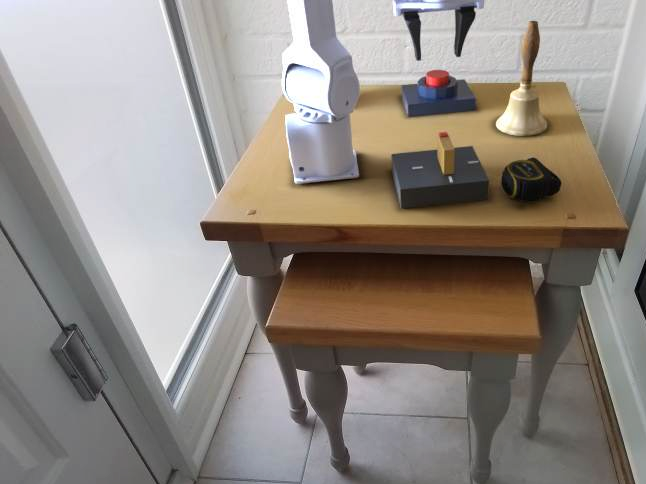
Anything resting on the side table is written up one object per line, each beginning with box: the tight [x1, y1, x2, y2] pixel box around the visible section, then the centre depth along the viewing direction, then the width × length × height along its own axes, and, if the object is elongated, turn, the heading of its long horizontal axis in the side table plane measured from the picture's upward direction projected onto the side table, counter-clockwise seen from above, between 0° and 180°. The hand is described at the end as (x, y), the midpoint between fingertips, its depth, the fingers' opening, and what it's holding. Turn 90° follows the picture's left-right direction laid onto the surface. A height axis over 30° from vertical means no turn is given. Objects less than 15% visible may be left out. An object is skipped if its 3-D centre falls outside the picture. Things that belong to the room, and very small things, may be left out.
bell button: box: [425, 69, 450, 87], centre depth 94 cm, size 4×4×2 cm
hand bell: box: [495, 20, 548, 137], centre depth 84 cm, size 8×8×16 cm
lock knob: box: [436, 131, 455, 175], centre depth 73 cm, size 5×1×4 cm, turn 5°
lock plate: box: [391, 145, 490, 209], centre depth 75 cm, size 12×10×3 cm
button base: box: [400, 74, 477, 118], centre depth 96 cm, size 12×9×4 cm
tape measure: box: [500, 156, 562, 203], centre depth 72 cm, size 7×7×4 cm
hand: (437, 56), depth 92 cm, fingers open, 6 cm apart
